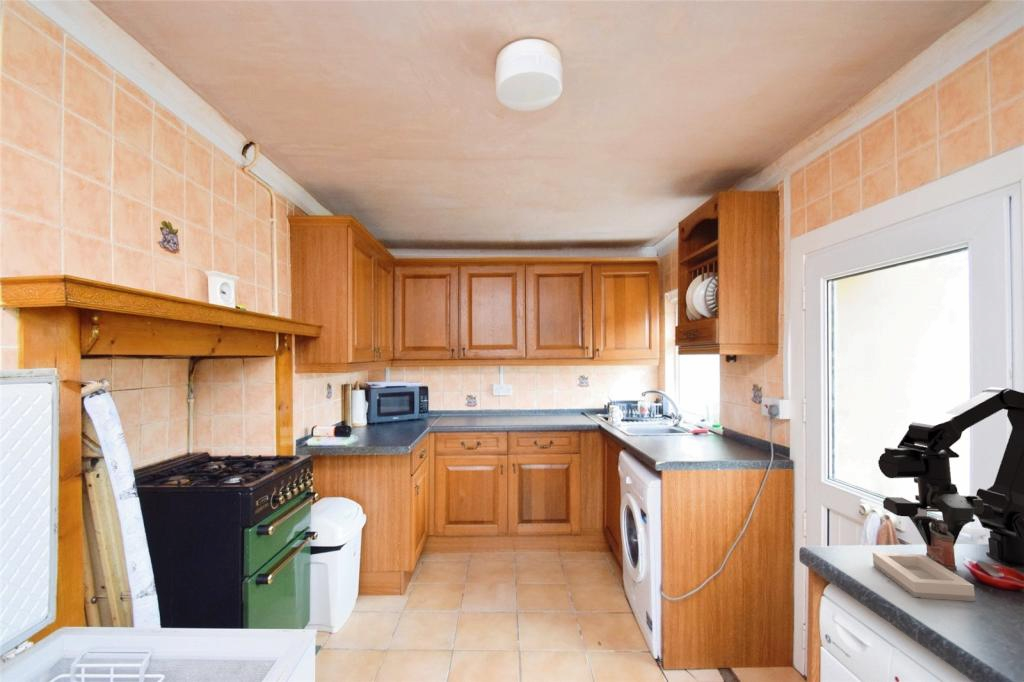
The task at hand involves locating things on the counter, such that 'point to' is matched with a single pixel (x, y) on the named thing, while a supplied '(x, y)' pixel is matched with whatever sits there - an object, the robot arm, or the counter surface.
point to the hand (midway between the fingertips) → (939, 545)
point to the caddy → (923, 576)
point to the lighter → (941, 545)
